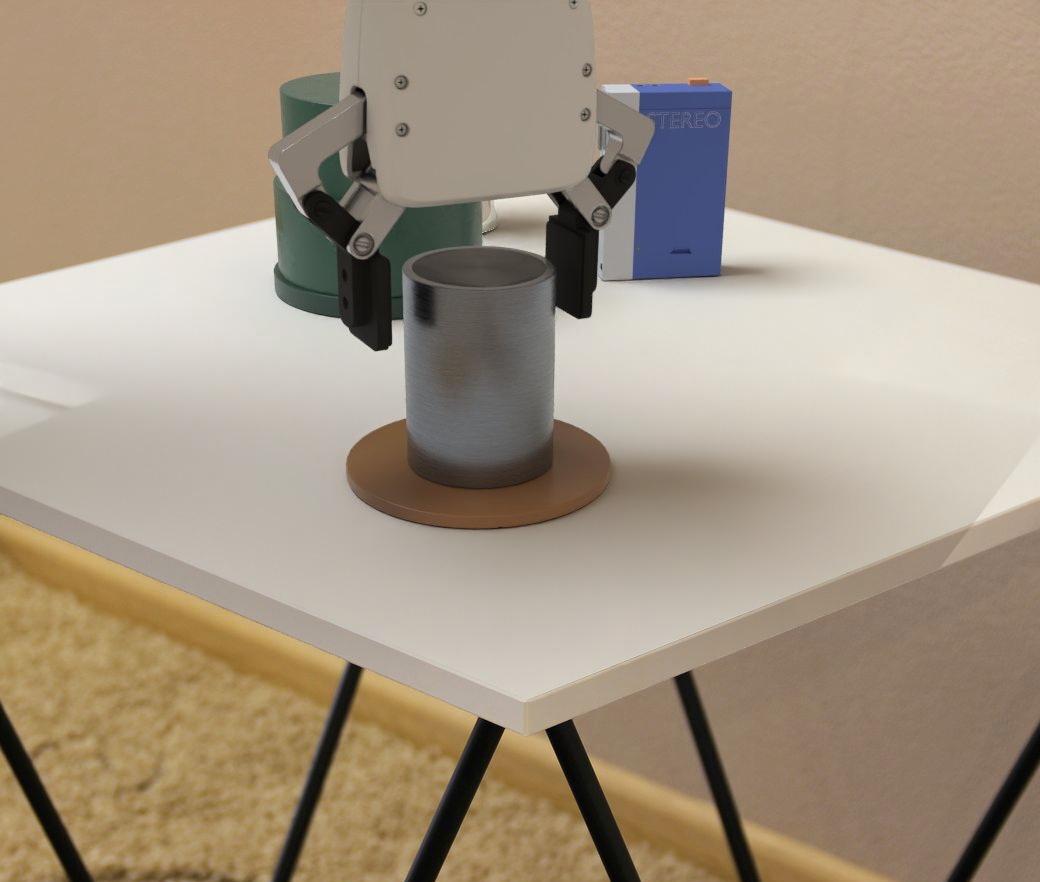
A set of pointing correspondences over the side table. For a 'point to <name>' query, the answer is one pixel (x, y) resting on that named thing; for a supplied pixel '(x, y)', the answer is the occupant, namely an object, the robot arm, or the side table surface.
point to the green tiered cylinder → (300, 245)
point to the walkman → (671, 184)
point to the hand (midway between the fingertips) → (472, 325)
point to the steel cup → (479, 365)
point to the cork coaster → (406, 495)
